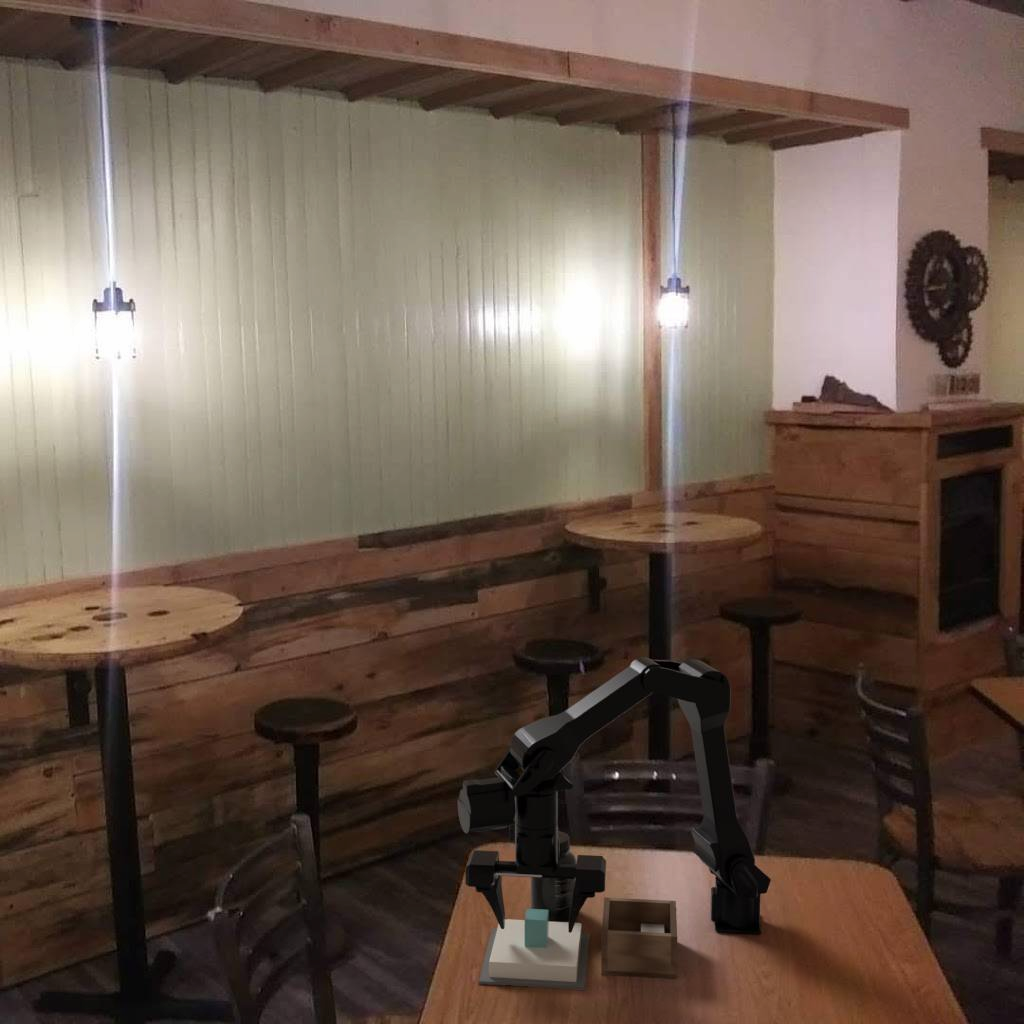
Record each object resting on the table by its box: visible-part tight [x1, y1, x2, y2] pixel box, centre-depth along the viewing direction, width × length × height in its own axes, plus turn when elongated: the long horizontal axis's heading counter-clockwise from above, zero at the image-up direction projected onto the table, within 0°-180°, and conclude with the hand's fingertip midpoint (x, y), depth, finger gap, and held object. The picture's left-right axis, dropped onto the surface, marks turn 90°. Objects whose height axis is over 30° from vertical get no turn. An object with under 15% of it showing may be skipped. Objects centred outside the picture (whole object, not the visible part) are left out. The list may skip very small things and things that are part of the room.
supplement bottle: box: [530, 830, 577, 922], centre depth 180 cm, size 7×7×12 cm
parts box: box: [600, 896, 678, 980], centre depth 169 cm, size 10×10×6 cm
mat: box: [478, 928, 591, 991], centre depth 169 cm, size 14×14×1 cm
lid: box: [489, 908, 583, 982], centre depth 168 cm, size 12×12×6 cm
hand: (536, 929), depth 168 cm, fingers open, 9 cm apart
